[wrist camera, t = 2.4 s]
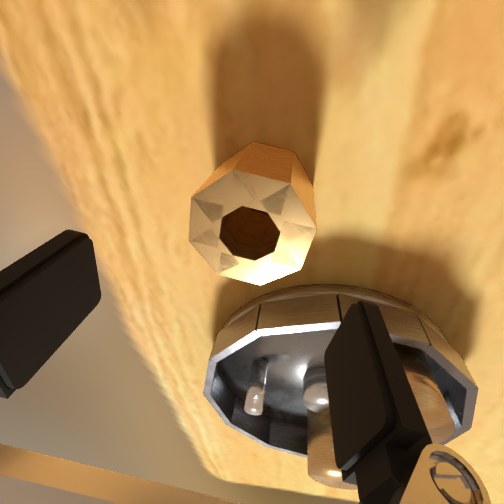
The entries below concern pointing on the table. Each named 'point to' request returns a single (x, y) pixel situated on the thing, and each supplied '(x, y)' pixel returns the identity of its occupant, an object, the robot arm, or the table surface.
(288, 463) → the table surface
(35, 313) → the robot arm
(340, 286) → the tray
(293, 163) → the tan hollow faceted cylinder
